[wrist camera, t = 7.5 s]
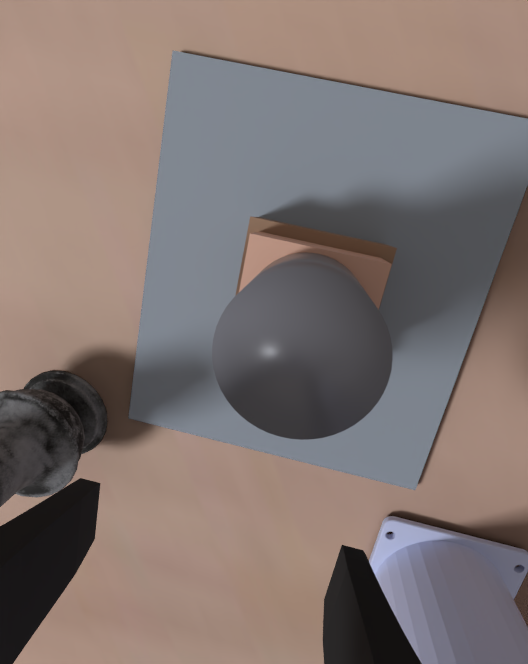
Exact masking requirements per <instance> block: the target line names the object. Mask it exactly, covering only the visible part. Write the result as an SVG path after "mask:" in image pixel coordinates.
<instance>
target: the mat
mask: <svg viewBox="0 0 528 664" xmlns="http://www.w3.org/2000/svg"><path fill="white" fill-rule="evenodd" d="M527 186H528V119H526V118H521V117H516V116H511V115H506V114H500V113H495V112H490V111H485V110H480V109H474V108H469V107H464V106H459V105H454V104H448V103H443V102H438V101H433V100H428V99H422V98H417V97H412V96H407V95H402V94H396V93H391V92H386V91H381V90H375V89H370V88H365V87H360V86H355V85H349V84H344V83H339V82H334V81H329V80H323V79H318V78H313V77H308V76H303V75H297V74H292V73H287V72H282V71H277V70H271V69H266V68H261V67H256V66H251V65H245V64H240V63H235V62H230V61H225V60H219V59H214V58H209V57H204V56H198V55H193V54H188V53H183V52H178V51H173V53H172V61H171V69H170V77H169V86H168V94H167V102H166V111H165V119H164V127H163V135H162V144H161V152H160V160H159V169H158V177H157V185H156V193H155V202H154V210H153V218H152V226H151V235H150V243H149V251H148V260H147V268H146V276H145V284H144V293H143V301H142V309H141V318H140V326H139V334H138V342H137V351H136V359H135V367H134V376H133V384H132V392H131V400H130V409H129V417H128V418H129V419H133V420H137V421H141V422H145V423H149V424H153V425H157V426H161V427H165V428H169V429H173V430H177V431H181V432H185V433H189V434H193V435H197V436H201V437H205V438H209V439H213V440H217V441H221V442H225V443H229V444H233V445H237V446H241V447H245V448H249V449H253V450H257V451H261V452H265V453H269V454H273V455H277V456H281V457H285V458H289V459H293V460H297V461H301V462H305V463H309V464H313V465H317V466H321V467H325V468H329V469H333V470H337V471H341V472H345V473H349V474H353V475H357V476H361V477H365V478H368V479H372V480H376V481H380V482H384V483H388V484H392V485H396V486H400V487H404V488H408V489H412V490H415V489H416V487H417V484H418V481H419V479H420V476H421V473H422V470H423V468H424V465H425V462H426V460H427V457H428V454H429V451H430V449H431V446H432V443H433V441H434V438H435V435H436V432H437V430H438V427H439V424H440V422H441V419H442V416H443V414H444V411H445V408H446V405H447V403H448V400H449V397H450V395H451V392H452V389H453V386H454V384H455V381H456V378H457V376H458V373H459V370H460V367H461V365H462V362H463V359H464V357H465V354H466V351H467V348H468V346H469V343H470V340H471V338H472V335H473V332H474V329H475V327H476V324H477V321H478V319H479V316H480V313H481V310H482V308H483V305H484V302H485V300H486V297H487V294H488V291H489V289H490V286H491V283H492V281H493V278H494V275H495V272H496V270H497V267H498V264H499V262H500V259H501V256H502V253H503V251H504V248H505V245H506V243H507V240H508V237H509V234H510V232H511V229H512V226H513V224H514V221H515V218H516V215H517V213H518V210H519V207H520V205H521V202H522V199H523V196H524V194H525V191H526V188H527ZM250 217H261V218H265V219H270V220H275V221H279V222H284V223H289V224H293V225H298V226H303V227H307V228H312V229H317V230H321V231H326V232H331V233H335V234H340V235H345V236H349V237H354V238H359V239H363V240H368V241H373V242H377V243H382V244H386V245H389V246H392V247H395V248H397V250H396V253H395V257H394V260H393V263H392V267H391V270H390V274H389V277H388V280H387V284H386V287H385V291H384V294H383V297H382V301H381V304H380V308H379V311H380V313H381V314H382V316H383V318H384V320H385V323H386V325H387V327H388V330H389V334H390V337H391V343H392V353H393V361H392V369H391V374H390V378H389V381H388V384H387V386H386V389H385V391H384V393H383V395H382V396H381V398H380V400H379V402H378V403H377V404H376V405H375V407H374V408H373V409H372V410H371V411H370V412H369V413H368V414H367V415H366V416H365V417H364V418H363V419H362V420H360V421H359V422H358V423H356V424H355V425H354V426H352V427H350V428H348V429H346V430H345V431H342V432H340V433H337V434H335V435H332V436H328V437H324V438H318V439H309V440H298V439H289V438H284V437H279V436H276V435H273V434H270V433H267V432H265V431H263V430H261V429H259V428H257V427H256V426H254V425H252V424H251V423H249V422H248V421H247V420H245V419H244V418H243V417H242V416H240V415H239V414H238V413H237V412H236V411H235V410H234V408H233V407H232V406H231V405H230V403H229V402H228V401H227V400H226V398H225V396H224V394H223V393H222V391H221V389H220V387H219V384H218V382H217V380H216V376H215V372H214V368H213V361H212V345H213V337H214V333H215V330H216V326H217V324H218V321H219V319H220V317H221V315H222V313H223V312H224V310H225V308H226V307H227V305H228V304H229V303H230V302H231V300H232V299H233V298H234V297H235V295H236V289H237V284H238V279H239V273H240V268H241V263H242V257H243V252H244V247H245V241H246V236H247V231H248V225H249V220H250Z"/></svg>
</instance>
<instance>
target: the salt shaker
mask: <svg viewBox="0 0 528 664" xmlns="http://www.w3.org/2000/svg"><path fill="white" fill-rule="evenodd" d="M106 427H107V413H106V409H105V406H104V404H103V401H102V399H101V397H100V396H99V395H98V393H97V392H96V390H95V389H94V388H93V387H92V386H91V385H90V384H89V383H87V382H86V381H85V380H83V379H82V378H80V377H78V376H76V375H74V374H71V373H68V372H64V371H49V372H44V373H41V374H39V375H37V376H36V377H34V378H32V379H31V380H30V381H29V382H28V383H27V384H26V386H25V387H24V389H21V390H16V391H8V390H5V391H1V392H0V507H1V506H2V505H3V504H4V503H5V502H6V501H7V500H9V499H10V498H11V497H12V496H13V495H14V494H18V495H21V496H27V497H42V496H48V495H52V494H54V493H56V492H58V491H60V490H62V489H63V488H64V487H65V486H66V485H67V484H68V483H69V482H70V481H71V480H72V478H73V476H74V474H75V472H76V470H77V466H78V461H79V459H80V457H81V454H83V453H86V452H88V451H90V450H92V449H93V448H94V447H95V446H96V445H97V444H98V443H99V442H100V441H101V440H102V438H103V436H104V434H105V432H106Z"/></svg>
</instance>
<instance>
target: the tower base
mask: <svg viewBox="0 0 528 664" xmlns="http://www.w3.org/2000/svg"><path fill="white" fill-rule="evenodd" d="M254 232H264V233H269V234H273V235H278V236H282V237H287V238H292V239H296V240H301V241H306V242H310V243H315V244H319V245H324V246H329V247H333V248H338V249H342V250H347V251H352V252H356V253H361V254H366V255H370V256H375V257H379V258H382V259H384V260H385V261H387V262H389V263H391V264H392V263H393V260H394V257H395V253H396V250H397V248H395V247H392V246H389V245H386V244H382V243H377V242H373V241H368V240H363V239H359V238H354V237H349V236H345V235H340V234H335V233H331V232H326V231H321V230H317V229H312V228H307V227H303V226H298V225H293V224H289V223H284V222H279V221H275V220H270V219H265V218H261V217H250V220H249V225H248V231H247V236H246V241H245V247H244V252H243V257H242V263H241V268H240V273H239V279H238V284H237V289H236V295H237V294H238V293H239V289H240V283H241V278H242V273H243V267H244V262H245V257H246V252H247V246H248V241H249V236H250V233H254ZM391 267H392V265H391ZM390 270H391V269H390ZM389 274H390V272H389ZM388 277H389V276H388ZM387 280H388V279H387ZM386 284H387V282H386ZM385 287H386V286H385ZM384 291H385V289H384ZM383 294H384V293H383ZM236 295H235V296H236ZM382 297H383V296H382ZM381 301H382V299H381ZM380 304H381V303H380ZM379 308H380V306H379Z"/></svg>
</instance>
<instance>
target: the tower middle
mask: <svg viewBox="0 0 528 664" xmlns="http://www.w3.org/2000/svg"><path fill="white" fill-rule="evenodd" d="M303 252H308V253H317V254H322V255H325V256H328V257H331V258H333V259H335V260H337V261H338V262H340V263H341V264H343V265H344V266H345V267H347V268H348V269H349V270H350V271H351V272H352V273H353V275H354V276H355V277H356V278H357V280H358V281H359V283H360V284H361V285H362V287H363V288H364V290H365V291H366V293H367V294H368V295H369V297H370V298H371V300H372V301H373V302H374V304H375V305H376V307H377V308H378V310H379V306H380V303H381V299H382V296H383V293H384V289H385V286H386V282H387V279H388V276H389V272H390V269H391V265H392V264H391V263H389V262H387V261H385V260H384V259H382V258H379V257H375V256H370V255H366V254H361V253H356V252H352V251H347V250H342V249H338V248H333V247H329V246H324V245H319V244H315V243H310V242H306V241H301V240H296V239H292V238H287V237H282V236H278V235H273V234H269V233H264V232H254V233H250V236H249V241H248V246H247V252H246V257H245V262H244V267H243V273H242V278H241V283H240V289H239V292H240V291H241V290H242V289H243V288H244V287H245V286H246V285H247V284H248V283H250V282H251V281H252V280H253V279H254V278H255V277H256V276H257V275H258V274H259V273H260V272H261V271H262V270H263V269H264V268H265V267H266V266H268V265H269V264H271V263H272V262H273V261H275V260H277V259H279V258H281V257H284V256H287V255H290V254H294V253H303Z"/></svg>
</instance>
